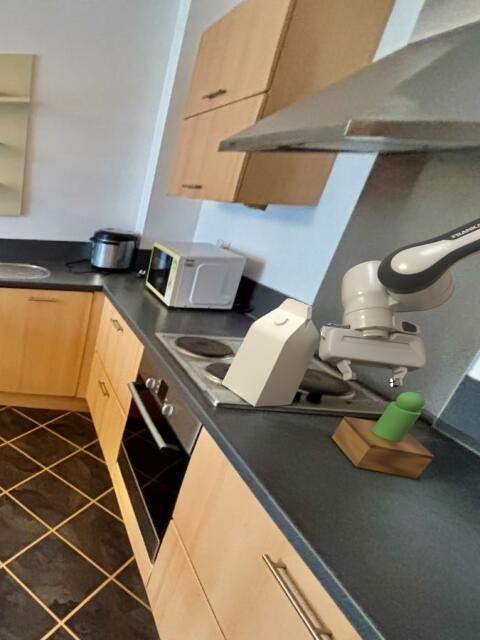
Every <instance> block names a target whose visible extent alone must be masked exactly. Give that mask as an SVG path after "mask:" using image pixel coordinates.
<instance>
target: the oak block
mask: <svg viewBox="0 0 480 640" xmlns="http://www.w3.org/2000/svg"><path fill="white" fill-rule="evenodd" d="M377 422H378V421H373V420H367V419H363V418H357V417H351V416H344V417H343V418H342V420H341V421H340V422H339V424H338V425H337V428H336V429H335V431H334V432H333V434H332V436H331V438H332V440H333V441H334V442H335V443H336V445H337V446H338V447H339V449H341V451H342V452H343V453H344V454H345V456H346V457H347V458H348V459H349V460H350V461H351V463H352V464H353V465H354V466H355V467H356V468H360V469H365V470H371V471H375V472H381V473H386V474H390V475H395V476H400V477H405V478H410V479H418V478H419V477H420V475H421V474H422V473H423V472H424V470H425V469H426V468H427V467H428V466H429V464H430V463H431V462H432V461H433V459H434V458H435V455H434V454H433V453H431V452H430V451H429V450H428V449H427V448H426V447H425V446H424V445H422V443H420V442H419V441H418V440H417V439H416V438H415V437H414V436H412V435H411V433H409V431H408V432H407V433H406V435H405V436H404V437H403V439H402V440H401V441H400V442H394V441H390V440H386V439H384V438H381V437H379V436H378V435H376V434H375V433H374V432H373V431H372V429H373V428H374V426H375V425H376V423H377Z"/></svg>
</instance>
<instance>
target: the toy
mask: <svg viewBox="0 0 480 640" xmlns="http://www.w3.org/2000/svg"><path fill="white" fill-rule="evenodd" d="M425 404H426V400H425V398H424V396H423V395H422V394H420V393H418V392H415V391H405V392H402V393H400V394H399V395H398V396H397V397H396V399H395V401H390V403H389V404H388V406H387V407H386V408H385V410H384V411H383V413H382V415H381V416H380V417H379V419H378V420H377V421H376V422H377V423H376V425H375V426H374V428H373V429H372V431H373V432H374V433H375V434H376V435H378V436H379V437H381V438H384V439H386V440H390V441H394V442H400V441H401V440H402V439H403V437H404V436H405V435H406V433H407V432H408V433H409V431H410V430H411V428H412V427H413V425H414V424H415V423H416V422H417V420H418V419H419V418H420V416H421V415H422V411H421V409H422V408H424V406H425Z"/></svg>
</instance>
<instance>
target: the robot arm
mask: <svg viewBox="0 0 480 640" xmlns="http://www.w3.org/2000/svg"><path fill="white" fill-rule="evenodd" d="M479 254H480V217H478V218H476V219H474V220H472V221H470V222H467V223H465V224H463V225H460V226H458V227H456V228H454V229H451V230H449V231H447V232H445V233H443V234H441V235H437V236H435V237H431V238H429V239H426V240H425V239H424V240H422V241H418V242H414V243H410V244H407V245H404V246H402V247H399V248H397V249H395V250H393V251H392V252H390V253H389V254H388V255H386V256H385V257H384V259H383V260H368V261H364V262H361V263H359V264H356V265H355V266H353V267H351V268H349V269H348V271H346V272H345V274H344V276H343V278H342V281H341V288H340V289H341V291H340V293H341V294H340V301H341V306H342V307H343V314H342V323H334V322H327V323H326V324H323V325H322V326H321V327H320V329H319V330H320V331H319V335H320V342H319V345H318V346H319V347H318V357H319V358H320V360H321V361H324V362H329V363H330V362H331V363H336V367H337V369H338V370H339V371H340V372H341V374H342V378H343V382H354V381H356V380H357V372H355V371H353V370H352V368H351V367H350V365H353V366H360V367H361V366H362V367H367V368H368V367H370V368H377V369H383V370H391V373H392V375H393V374H394V376H393V377H392V378H389V379H387V383H388V387H390V388H401V387H403V384H404V383H403V379H404V378H405V376H406V375H407V373H411V372H414V371H418V370H421V369H422V368H424V367H425V366H426V364H427V355H426V348H425V344H424V341H423V340H422V338H421V337H419V336H420V335H421V334H422V328H421V326H420V325H417V324H415V323H413V322H410V321H408V320H405V319H403V318H401V317H400V316H398V315H395V313H415V312H423V311H428V310H429V311H430V310H432V309H435V308H438V307H440V306H442V305H443V304H444V303H446V302H447V301H448V300H449V299H450V298H451V297H452V295H453V293H454V290H455V284H454V281H453V277H452V274H451V272H450V271H451V269H452V268H453V267H454V266H456V265H457V264H458V263H460V262H461V261H464V260H466V259H468V258H471V257H473V256H476V255H479ZM418 335H419V336H418Z"/></svg>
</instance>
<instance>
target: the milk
mask: <svg viewBox="0 0 480 640" xmlns="http://www.w3.org/2000/svg"><path fill="white" fill-rule="evenodd" d="M312 313H313V306H311V305H310V304H306V303H304V302H302V301H299V300H296V299H295V298H286V299H285V300H284V301H282V303H281V304H280V305H279V306H278V307H276V308H275V309H273V310H272V311H270V312H268V313H267V314H265V315H263V316H261V317H260V318H258V319H256V320H255V321H254V322H253V323H252V324H251V325H250V327H249V329H248V331H247V333H246V335H245V337H244V339H243V341H242V342H241V345H240V346H239V348H238V350H237V352H236V354H235V356H234V358H233V359H232V362H231V364H230V366H229V368H228V370H227V372H226V373H225V376H224V378H223V380H222V382H221V384H222V385H223V386H224V387H226V388H227V389H229V390H230V391H231V392H233V393H234V394H236V395H237V396H238V397H240V398H241V399H243V400H244V401H245V402H247V403H248V404H250V405H251V406H252V407H254V408H255V407H258V408H259V407H272V406H273V407H275V406H286V405H287V406H288V405H291V404H292V403H293V401H294V398H295V397H296V394H297V392H298V390H299V388H300V385H301V384H302V381H303V379H304V377H305V375H306V373H307V370H308V368H309V366H310V363H311V361H312V360H313V357H314V355H315V353H316V351H317V349H318V346H319V345H320V340H321V335H320V332H319V331H318V329H317V327H316V326H315V324H314V322H313V320H312V316H313V315H312Z"/></svg>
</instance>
